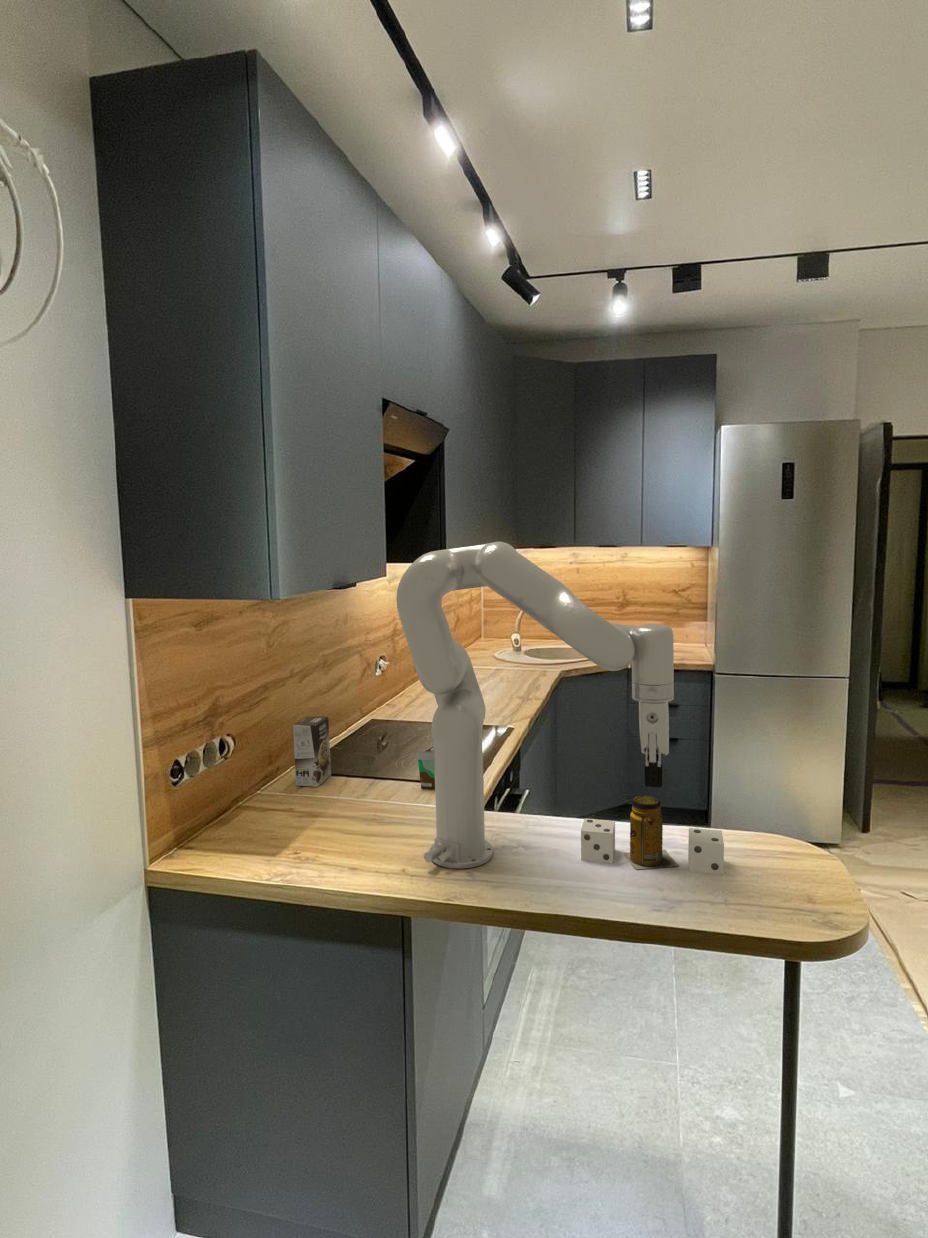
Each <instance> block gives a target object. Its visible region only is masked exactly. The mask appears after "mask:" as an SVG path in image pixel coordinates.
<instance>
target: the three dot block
mask: <svg viewBox="0 0 928 1238" xmlns="http://www.w3.org/2000/svg"><path fill="white" fill-rule="evenodd" d="M615 852H616V821H615V820H609V819H607V820H605V819H595V818H584V819H583V822H582V826H581V829H580V861H589V862H590V861H591V862H599V863H609V864H613V863H614V857H615Z"/></svg>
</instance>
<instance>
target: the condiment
mask: <svg viewBox="0 0 928 1238" xmlns="http://www.w3.org/2000/svg"><path fill="white" fill-rule="evenodd" d="M631 805H632V807H631V810H632V811H631V812H630V814H629V815H630V817H629V821H630V825H629V831H630V832H629V834H630V835H629V846H630V847H629V852H623V854H624V855H625V857H626V859H627V860H628V862H629V863H631V865H632V866H633V867H634V869H635V870H647V869H659V868H660V869H661V868H671V867H679V866H680V865H679V864H678V863H677V862H676V861H675V860H674V859H673V857H672V856H671V855H670V853H668V851H667V850H666V849H663V837H664V836H663V833H664V832H663V830H664V829H663V819H664V817H663V814H662V813H661V812H662V808H661V807H662V806H661V805H662V803H661V801H660V800H659V799H658V798H657V797H654V796H650V795H641V796H640V795H638V796H636V797H634V798H633V799H632V804H631Z"/></svg>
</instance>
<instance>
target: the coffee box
mask: <svg viewBox="0 0 928 1238" xmlns="http://www.w3.org/2000/svg"><path fill="white" fill-rule="evenodd" d="M292 731H293V733H292V734H293V735H292V736H293V750H294V751H293V757H294V772H295V773H294V775H295V776H294V777H295V786H298V787H299V786H300V787H313V788H317V787H320V786H321V784H323V783H324V782H325V781H326V780H327V779H329V777H331V776H332V766H331V765H332V764H331V763H332V761H331V748H330V747H331V744H330V741H331V740H330V723H329V716H323V715H322V716H321V715H318V716H314V715H313V716H309V715H307V716H305V717H304V718H302V719H300V720H298V721H296V722H295V723H294V724H292Z"/></svg>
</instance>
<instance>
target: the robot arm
mask: <svg viewBox="0 0 928 1238" xmlns="http://www.w3.org/2000/svg"><path fill="white" fill-rule="evenodd" d="M483 587H488V588H489V589H490V590H492V591H493V592H495V593H496V594H498V596H500V597H502V598H504V599H505V600H506V601H508V602H509V603H510V604H512V605H513V606H514V607H517V608H518V609H519V610H520V611H521V612H523V613H525V614H526V615H527V616H529V617H530V618H532V619H533V620H534V621H536V622H537V623H538V624H539V625H541V626H542V628H544V629H546V630H548V631H549V632H551V633H553V634H554V635H555V636H556V637H557V638H559V639H560V640H561V641H563V642H564V643H565V644H566V645H568V646H569V647H571V648H572V649H574V650H575V651H576V652H578V653H579V654H580V655H582V656H584V658H586V659H587V660H589V661H590V662H592V663H593V664H595V665H596V666H598V667H599V668H601V669H603V670H606V671H610V672H617V671H621V670H624V669H625V668H627V667H628V666H629V665H630V664H631V686H632V687H631V698H632V700H634V701H635V702H636V701H637V702H638V720H639V721H638V725H639V728H638V729H639V738H640V739H639V740H640V749H641V750H640V751H641V753H642V754H643V755H645V763H644V786H645V787H646V788H647V787H648V788H662V787H663V764H662V754H663V755H664V756H667V755H669V753H670V751H669V749H670V733H669V732H670V722H669V721H670V718H669V717H670V715H669V711H670V710H669V702H672V701H673V700H674V699H675V697H674V696H675V690H674V687H675V686H674V685H675V684H674V679H675V678H674V676H675V675H674V674H675V671H674V657H675V656H674V650H675V649H674V632H673V629H672V628H671V626H669V625H666V624H661V623H644V624H639V625H633V624H624V623H623V624H621V623H614V622H613V623H612V622H611V623H610V622H609V621H608V620H606V619H605V618H603V617H602V616H600V615H599V614H598V613H596V611H593V610H592V609H591V608H589V607H588V606H587V605H586V604H585V603H583V602H582V601H581V600H580V599H579V597H577V596H576V595H575V594H574V593H573V592H572V591H571V590H570V589H569V587H567V586H566V585H565V584H564V583H562V582H561V581H560V580H558V579H557V578H555V577H554V576H552V575H551V574H549V573H548V572H547V571H545V570H544V569H542V568H541V567H539V566H538V565H536V564H535V563H533V562H532V561H530V559H528V558H527V557H525V556H523V555H522V554H521V553H520V552H518V551H517V550H516V548H514V547H513V546H512V545H511V544H510V543H507V542H504V541H493V542H489V543H483V544H478V545H477V544H476V545H471V546H463V547H456V548H448V549H447V548H446V549H439V550H434V551H429V552H426V553H424V554H422V555H421V556H418V557H417V558H416V559H415V560H414V561H413V562H412V563H411V564H410V565H409V566H408V567H407V569H406V570H405V572H404V573H403V574H402V576H401V578H400V580H399V583H398V585H397V589H396V596H395V597H396V599H395V600H396V601H395V602H396V608H397V613H398V617H399V620H400V623H401V626H402V630H403V632H404V636H405V639H406V643H407V646H408V649H409V653H410V654H411V658H412V661H413V664H414V668H415V671H416V674H417V677H418V681H419V682H420V684H421V686H422V687H423V688H424V689H425V690H426V691H427V692H428V693H430V694H433V695H434V698H435V701H436V704H437V708H436V710H434V711H435V712H434V713H433V717H432V721H431V727H430V728H431V730H430V731H431V732H430V734H431V745H432V747H433V754H434V774H435V790H434V795H435V798H434V799H435V800H434V801H435V826H436V827H435V829H436V837H435V838H434V843H433V844H432V845H430V847H429V850H428V851H426V852H425V853H424V854H423V859H424V860H425V862H426V863H432V862H433V863H435V864H436V865H438V866H441V867H444V868H448V869H457V870H458V869H459V870H460V869H471V868H476V867H479V866H481V865H484V864H486V863H487V862H489V861H490V860H491V859H492V857H493V856H494V848H493V845H492V844H491V843H490V842H489V841H487V840H486V839H485V838H486V833H485V831H486V830H485V790H484V788H485V787H484V785H485V782H484V758H483V757H484V755H483V727H484V723H485V719H486V713H487V711H486V710H487V709H486V704H485V700H484V697H483V694H482V691H481V688H480V685H479V681H478V679H477V676H476V673H475V670H474V666H473V664H472V661H471V658H470V655H469V653H468V651H467V649H465V647H464V646H463V645H462V643H460V642H459V641H456V640H454V638H453V636H452V633H451V630H450V626H449V622H448V620H447V616H446V614H445V612H444V609H443V607H442V601H443V597H445V595H446V594H448V593H450V592H454V591H461V590H469V589H470V590H471V589H475V588H476V589H477V588H483Z"/></svg>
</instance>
